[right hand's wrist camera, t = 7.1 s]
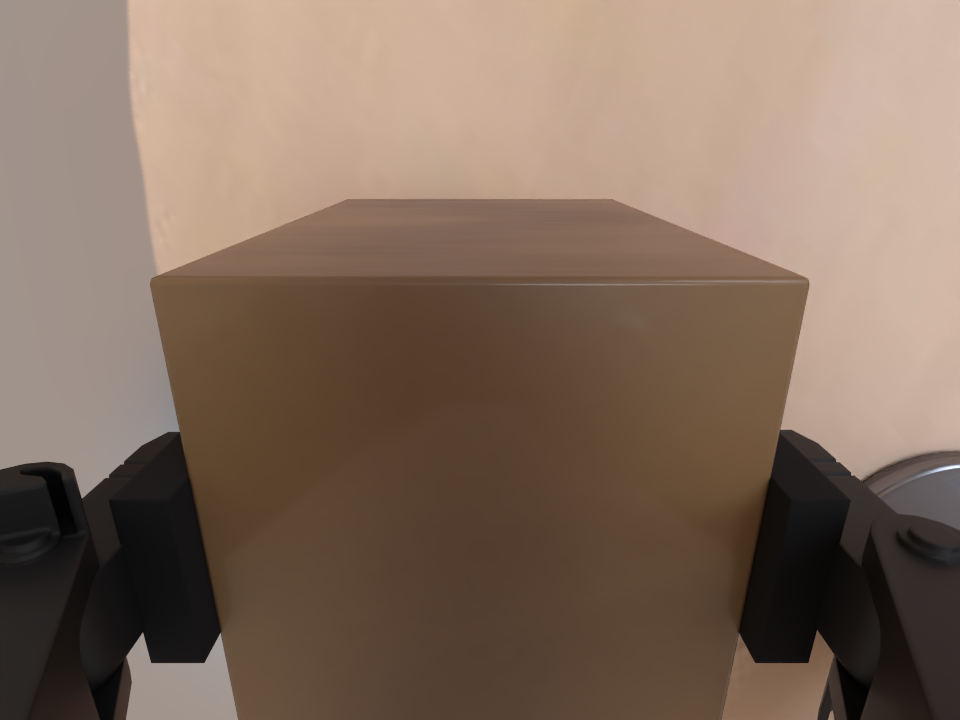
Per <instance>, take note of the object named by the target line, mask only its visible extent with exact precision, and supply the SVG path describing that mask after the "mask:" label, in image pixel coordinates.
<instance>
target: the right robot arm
mask: <svg viewBox="0 0 960 720" xmlns="http://www.w3.org/2000/svg"><path fill="white" fill-rule="evenodd" d="M817 630H818V631H819V633H820V634H821V636H822V637H823V639H824V640H825V642H826V643H827V644H828V646H829V647H830V649H831V650H832V652H833V653H834V658H833V661H832V665H831V668H830V672H829V675H828V679H827V682H826V686H825V690H824V693H823V697H822V700H821V704H820V707H819V712H818V719H817V720H828V717H829V714H830V712H831V711H832V710H833V713H834V719H835V720H960V452H943V453H934V454H929V455H923V456H919V457H916V458H912V459H909V460H906V461H903V462H900V463H898V464H895V465H893V466H891V467H889V468H887V469H885V470H883V471H881V472H879V473H877V474H876V475H874V476H872V477H871V478H869V479H868V480H866V481H865V482H863V483H862V482H861V481H860V480H859V479H858V478H857V477H855V476H851V472H850V471H849V470H847V469H846V468H845V467H844V466H843V465H842V464H841V463H840V462H836V459H835V458H834V457H833V456H832V455H830V454H829V453H828V452H827V451H826V450H825V449H824V448H823V447H821V446H820V445H819V444H818V443H816V442H814V441H812V440H810V439H808V438H806V437H804V436H802V435H800V434H798V433H796V432H794V431H793V430H780V433H779V437H778V442H777V447H776V452H775V457H774V462H773V467H772V472H771V477H770V482H769V487H768V492H767V497H766V502H765V507H764V512H763V516H762V521H761V526H760V531H759V536H758V541H757V546H756V551H755V556H754V561H753V566H752V571H751V576H750V581H749V586H748V591H747V596H746V600H745V605H744V610H743V615H742V620H741V625H740V630H739V633H740V635H741V637H742V639H743V641H744V643H745V645H746V646H747V648H748V650H749V652H750V654H751V656H752V658H753V660H754V661H755V663H808V662H809V658H810V654H811V651H812V647H813V643H814V639H815V635H816V632H817ZM142 633H144V637H145V641H146V645H147V649H148V652H149V656H150V660H151V663H205V661H206V659H207V657H208V655H209V653H210V651H211V649H212V647H213V646H214V644H215V642H216V640H217V638H218V636H219V634H220V633H221V632H220V627H219V622H218V617H217V612H216V607H215V602H214V597H213V592H212V588H211V583H210V578H209V573H208V568H207V563H206V558H205V553H204V548H203V543H202V538H201V533H200V528H199V523H198V519H197V514H196V509H195V504H194V499H193V494H192V489H191V484H190V479H189V474H188V469H187V464H186V459H185V454H184V450H183V445H182V440H181V435H180V432H168V433H166V434H164V435H162V436H160V437H158V438H156V439H154V440H152V441H150V442H148V443H146V444H144V445H142V446H141V447H140V448H139V449H138V450H137V451H135V452H134V453H133V454H132V455H131V456H130V457H129V458H128V459H126V460H125V461H124V465H120V466H119V467H117V468H116V469H115V470H114V471H113V472H112V473H111V474H110V475H109V478H105V479H104V480H103V481H102V482H101V483H99V484H98V485H97V486H96V487H95V488H94V489H93V490H91V491H90V492H89V493H88V494H87V495H86V496H85V497H84V498H81V495H80V491H79V488H78V484H77V480H76V477H75V473H74V470H73V469H72V468H70V467H69V466H67V465H65V464H63V463H54V462H40V463H29V464H23V465H18V466H14V467H10V468H6V469H1V470H0V720H126V715H127V708H128V702H129V696H130V689H131V683H132V681H131V674H130V668H129V665H128V661H127V658H126V656H127V654H128V653H129V651H130V650H131V648H132V647H133V646H134V644H135V643H136V641H137V640H138V638H139V637H140V635H141V634H142Z"/></svg>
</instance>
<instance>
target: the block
mask: <svg viewBox="0 0 960 720" xmlns="http://www.w3.org/2000/svg"><path fill="white" fill-rule="evenodd" d="M150 287H151V292H152V297H153V302H154V307H155V312H156V316H157V321H158V326H159V331H160V336H161V341H162V346H163V351H164V356H165V361H166V366H167V371H168V376H169V380H170V385H171V390H172V395H173V400H174V405H175V410H176V415H177V420H178V425H179V430H180V435H181V440H182V445H183V450H184V454H185V459H186V464H187V469H188V474H189V479H190V484H191V489H192V494H193V499H194V504H195V509H196V514H197V519H198V523H199V528H200V533H201V538H202V543H203V548H204V553H205V558H206V563H207V568H208V573H209V578H210V583H211V588H212V592H213V597H214V602H215V607H216V612H217V617H218V622H219V627H220V632H221V637H222V641H223V647H224V652H225V656H226V661H227V666H228V671H229V676H230V681H231V686H232V691H233V696H234V701H235V706H236V711H237V716H238V720H721V719H722V714H723V709H724V704H725V699H726V694H727V689H728V684H729V679H730V675H731V670H732V665H733V660H734V655H735V650H736V645H737V640H738V635H739V630H740V625H741V620H742V615H743V610H744V605H745V600H746V596H747V591H748V586H749V581H750V576H751V571H752V566H753V561H754V556H755V551H756V546H757V541H758V536H759V531H760V526H761V521H762V516H763V512H764V507H765V502H766V497H767V492H768V487H769V482H770V477H771V472H772V467H773V462H774V457H775V452H776V447H777V442H778V437H779V433H780V428H781V423H782V418H783V413H784V408H785V403H786V398H787V393H788V388H789V383H790V378H791V373H792V368H793V363H794V358H795V354H796V349H797V344H798V339H799V334H800V329H801V324H802V319H803V314H804V309H805V304H806V299H807V294H808V289H809V280H808V278H806V277H803V276H801V275H799V274H796V273H794V272H791V271H789V270H786V269H784V268H781V267H779V266H776V265H774V264H771V263H769V262H766V261H764V260H761V259H759V258H756V257H754V256H751V255H749V254H746V253H744V252H741V251H739V250H736V249H734V248H732V247H729V246H727V245H724V244H722V243H719V242H717V241H714V240H712V239H709V238H707V237H704V236H702V235H699V234H697V233H694V232H692V231H689V230H687V229H684V228H682V227H679V226H677V225H674V224H672V223H670V222H667V221H665V220H662V219H660V218H657V217H655V216H652V215H650V214H647V213H645V212H642V211H640V210H637V209H635V208H632V207H630V206H627V205H625V204H622V203H620V202H617V201H615V200H612V199H347V200H345V201H342V202H340V203H337V204H335V205H332V206H330V207H328V208H325V209H323V210H320V211H318V212H315V213H313V214H310V215H308V216H305V217H303V218H300V219H298V220H295V221H293V222H290V223H288V224H285V225H283V226H280V227H278V228H275V229H273V230H270V231H268V232H265V233H263V234H260V235H258V236H255V237H253V238H250V239H248V240H246V241H243V242H241V243H238V244H236V245H233V246H231V247H228V248H226V249H223V250H221V251H218V252H216V253H213V254H211V255H208V256H206V257H203V258H201V259H198V260H196V261H193V262H191V263H188V264H186V265H183V266H181V267H178V268H176V269H173V270H171V271H168V272H166V273H164V274H161V275H159V276H156V277H154V278H152V279H151V283H150Z"/></svg>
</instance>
